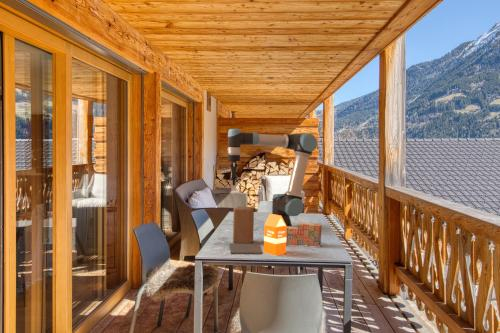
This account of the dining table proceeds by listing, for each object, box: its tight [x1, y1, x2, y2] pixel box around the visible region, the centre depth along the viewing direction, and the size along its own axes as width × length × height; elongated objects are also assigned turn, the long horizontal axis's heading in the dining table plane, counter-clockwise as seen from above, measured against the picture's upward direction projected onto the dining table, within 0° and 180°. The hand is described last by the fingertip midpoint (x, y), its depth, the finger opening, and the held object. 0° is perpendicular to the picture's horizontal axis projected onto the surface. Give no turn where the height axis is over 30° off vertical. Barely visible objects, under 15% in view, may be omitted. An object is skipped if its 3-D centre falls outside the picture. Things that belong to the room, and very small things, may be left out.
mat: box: [229, 243, 263, 255], centre depth 234 cm, size 16×20×1 cm
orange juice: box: [263, 213, 287, 256], centre depth 227 cm, size 8×9×20 cm
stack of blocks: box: [286, 221, 323, 247], centre depth 248 cm, size 21×6×12 cm, turn 71°
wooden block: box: [232, 206, 255, 244], centre depth 249 cm, size 10×10×20 cm
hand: (233, 189), depth 266 cm, fingers open, 13 cm apart
